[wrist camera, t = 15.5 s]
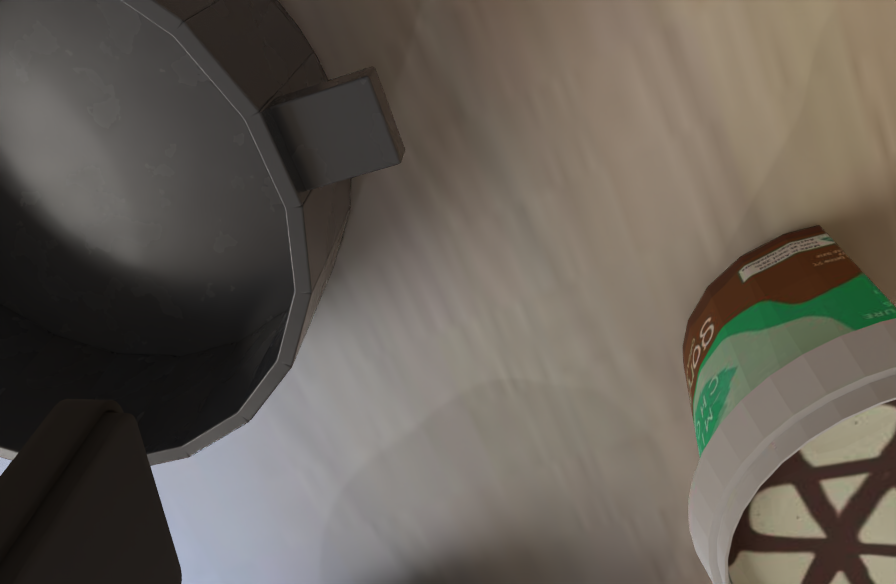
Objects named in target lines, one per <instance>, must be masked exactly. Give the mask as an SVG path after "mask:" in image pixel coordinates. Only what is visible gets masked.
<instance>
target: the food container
mask: <svg viewBox="0 0 896 584" xmlns="http://www.w3.org/2000/svg"><path fill="white" fill-rule="evenodd" d="M683 363H684V369H685V375H686V381H687V386H688V392H689V398H690V404H691V409H692V415H693V421H694V427H695V432H696V438H697V444H698V450H699V455H700V460H699V462H698V465H697V468H696V470H695V473H694V475H693V478H692V483H691V489H690V495H689V501H688V515H689V530H690V533H691V537H692V540H693V544H694V547H695V551H696V553H697V555H698V557H699V558H700V560H701V562H702V564H703V566H704V568H705V570H706V571H707V573H708V575H709V577H710V579H711V581H712V582H713V584H896V307H895V306H894V305H893V304H892V303H891V302H890V301H889V300H888V298H887V297H886V296H885V295H884V294H883V293H882V292H881V291H880V290H879V289H878V288H877V287H876V286H875V285H874V283H873V282H872V281H871V280H870V279H869V278H868V277H867V276H866V275H865V274H864V273H863V272H862V271H861V270H860V268H859V267H858V266H857V265H856V264H855V263H854V262H853V261H852V260H851V259H850V258H849V257H848V256H847V255H846V253H845V252H844V251H843V250H842V249H841V248H840V247H839V246H838V245H837V244H836V243H835V242H834V241H833V240H832V238H831V237H830V236H829V235H828V234H827V233H826V232H825V231H824V230H823V229H822V228H821V227H820V226H819V225H818V226H814V227H811V228H807V229H803V230H799V231H795V232H792V233H788V234H784V235H782V236H780V237H778V238H776V239H774V240H772V241H770V242H768V243H766V244H764V245H762V246H760V247H759V248H757V249H755V250H753V251H751V252H749V253H747V254H745V255H743V256H741V257H740V258H739V259H738V260H737V261H735V262H734V263H733V264H732V265H731V266H730V267H729V268H728V269H727V270H726V271H724V272H723V273H722V274H721V275H720V276H719V277H718V278H717V279H716V280H715V281H714V282H712V283H711V284H710V285H709V286H708V287H707V289H706V291H705V292H704V294H703V296H702V298H701V299H700V301H699V303H698V304H697V306H696V308H695V309H694V311H693V313H692V315H691V316H690V318H689V320H688V324H687V329H686V333H685V338H684V343H683Z"/></svg>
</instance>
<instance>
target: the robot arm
mask: <svg viewBox="0 0 896 584" xmlns="http://www.w3.org/2000/svg"><path fill="white" fill-rule="evenodd" d="M181 581H182V574H181V567H180V564H179V561H178V557H177V554H176V551H175V547H174V544H173V541H172V537H171V534H170V531H169V527H168V524H167V521H166V517H165V514H164V511H163V507H162V504H161V501H160V497H159V494H158V491H157V487H156V484H155V481H154V477H153V474H152V471H151V467H150V464H149V461H148V457H147V454H146V451H145V447H144V444H143V441H142V437H141V434H140V431H139V427H138V424H137V421H136V419H135V417H134V416H133V415H132V414H130V413H124V412H123V410H122V408H121V406H120V405H119V404H118V403H117V402H116V401H113V400H93V399H64V400H62V401H60V402H59V403H58V404H56V405H55V406H54V407H53V409H52V410H51V411H50V413H49V414H48V415H47V416H46V418H45V419H44V420H43V422H42V423H41V424H40V426H39V427H38V428H37V429H36V431H35V432H34V433H33V435H32V436H31V437H30V438H29V440H28V441H27V442H26V444H25V445H24V446H23V448H22V449H21V450H20V451H19V453H18V454H17V455H16V457H15V458H14V459H13V460H12V462H11V463H10V464H9V466H8V467H7V468H6V470H5V471H4V472H3V473H2V475H1V476H0V584H181Z"/></svg>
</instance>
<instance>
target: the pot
mask: <svg viewBox="0 0 896 584" xmlns="http://www.w3.org/2000/svg"><path fill="white" fill-rule="evenodd" d="M404 153H405V147H404V145H403V142H402V139H401V137H400V134H399V131H398V128H397V126H396V123H395V120H394V118H393V115H392V112H391V110H390V107H389V104H388V101H387V99H386V96H385V93H384V91H383V88H382V85H381V83H380V80H379V77H378V75H377V72H376V69H375V68H374V67H369V68H366V69H363V70H359V71H356V72H353V73H350V74H347V75H344V76H341V77H338V78H335V79H332V80H328V79H327V77H326V75H325V72H324V70H323V68H322V66H321V64H320V62H319V60H318V58H317V56H316V54H315V53H314V51H313V49H312V48H311V46H310V45H309V43H308V41H307V40H306V38H305V37H304V35H303V34H302V32H301V30H300V29H299V27H298V26H297V24H296V23H295V22H294V21H293V19H292V18H291V17H290V16H289V14H288V13H287V12H286V11H285V9H284V8H283V7H282V6H281V4H280V3H279V2H278V1H277V0H0V457H2V458H5V459H9V460H13V459H14V458H15V457H16V455H17V454H18V453H19V451H20V450H21V449H22V448H23V446H24V445H25V444H26V442H27V441H28V440H29V438H30V437H31V436H32V435H33V433H34V432H35V431H36V429H37V428H38V427H39V426H40V424H41V423H42V422H43V420H44V419H45V418H46V416H47V415H48V414H49V413H50V411H51V410H52V409H53V407H54V406H55V405H56V404H58V403H59V402H60V401H62V400H64V399H93V400H113V401H116V402H117V403H118V404H119V405H120V406H121V408H122V410H123V412H124V413H130V414H132V415H133V416H134V417H135V419H136V421H137V424H138V427H139V431H140V434H141V437H142V441H143V444H144V447H145V451H146V454H147V457H148V461H149V464H150V466H152V465H156V464H161V463H165V462H170V461H174V460H179V459H183V458H188V457H190V456H192V455H194V454H196V453H197V452H199V451H201V450H203V449H204V448H206V447H208V446H209V445H211V444H213V443H214V442H216V441H218V440H219V439H221V438H223V437H224V436H226V435H228V434H229V433H231V432H233V431H234V430H236V429H238V428H239V427H241V426H243V425H244V424H246V423H248V422H249V421H250V420H251V419H252V418H253V417H254V416H255V414H256V413H257V412H258V410H259V409H260V408H261V406H262V405H263V404H264V403H265V401H266V400H267V399H268V397H269V396H270V395H271V393H272V392H273V391H274V390H275V388H276V387H277V386H278V384H279V383H280V382H281V381H282V379H283V378H284V377H285V375H286V374H287V373H288V371H289V370H290V369H291V368H292V365H293V364H294V361H295V359H296V356H297V354H298V352H299V349H300V347H301V344H302V342H303V340H304V337H305V335H306V333H307V330H308V328H309V325H310V323H311V321H312V318H313V316H314V313H315V311H316V309H317V306H318V304H319V301H320V299H321V297H322V294H323V292H324V290H325V287H326V285H327V282H328V280H329V278H330V275H331V273H332V270H333V268H334V264H335V261H336V257H337V253H338V250H339V246H340V243H341V241H342V238H343V233H344V229H345V225H346V221H347V218H348V214H349V210H350V205H351V204H350V187H351V178H353V177H356V176H359V175H363V174H366V173H370V172H373V171H377V170H380V169H383V168H387V167H390V166H394V165H397V164H400V163H401V161H402V158H403V155H404Z"/></svg>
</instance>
